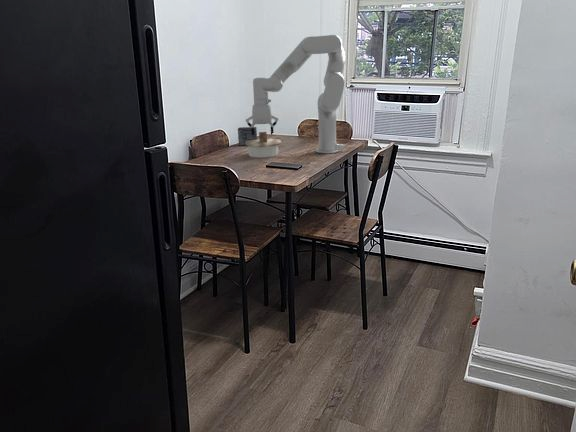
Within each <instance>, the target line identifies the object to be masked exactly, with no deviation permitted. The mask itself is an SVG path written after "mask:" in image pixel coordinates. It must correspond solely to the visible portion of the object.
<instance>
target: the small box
mask: <svg viewBox="0 0 576 432" xmlns="http://www.w3.org/2000/svg"><path fill="white" fill-rule="evenodd" d="M257 132H258V131H257V126H254V136H253V134H252V132H251V127H250V126H247V127H245V126H244V127H243V126H241V127H237V135H238V136H237V137H238V138H237V139H238V147H248V146H247V145H246V142H247V141H250V140H256V139H258V133H257Z"/></svg>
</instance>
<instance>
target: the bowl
mask: <svg viewBox="0 0 576 432" xmlns="http://www.w3.org/2000/svg"><path fill="white" fill-rule="evenodd" d="M247 147H248V148H247V151H248V157H250V158H256V159H257V158H258V159H259V158H260V159H265V158H273V157H277V156H278V155H279V145H276V146H269V147H251V146H247Z"/></svg>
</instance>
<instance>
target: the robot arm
mask: <svg viewBox="0 0 576 432" xmlns="http://www.w3.org/2000/svg"><path fill="white" fill-rule="evenodd" d="M320 54H321V55H322V54H327V55H328V62H327V66H326V71H325V75H324V77H323V84H324V87H325V88H324V91H323V92H322V93H321V94H320V95H319V96H318V98H317V113H318V119H317V120H318V147H317V148H316V149H315V152H316V153H317V154H318V153H319V154H335V153H339V152H340V149H341V148H342V149H345V148H346V145H345V143H343V144H342V143H338V142H337V109H339V107H340V104H341V100H342V96H343V93H344V88H345V81H346V80H345V78H344V76H343V72H344V68H345V62H346V54H345V50H344V47H343V41H342V39H341V37H340V36H339V35H337V34H328V35H318V36H307V37H305V38H303V39H302V40H301V41H300V42H299V43H298V44H297V46H296V47H295V48H294V49H293V50H292V51H291V53H290V54H289V55H288V56H287V57H286V58H285V59H284V61H283V62H282V63H281V64H280V65H279V66H278V67H277V69H276V70H275V71H274V72H273V73H272V74H271V75H270V76H269V77H267V78H266V77H255V78H253V80H252V86H253V90H252V91H253V104H252V106H251V107H252V110H251V112H252V113H251V116H249V117H247V118H246V119H245V122H246V124H247V125H248V127H251V132H252V134H253V136H254V127H255V125H270V135H271V136H272V135H273V134H274V127H275V126H276V125H277V124H278V121H279V118H278V117H276V116H274V115H273V114H272V109H271V104H269V103H271V102H272V99H269V92H270V93H278V92H280V91H282V89H283V87H284V83H285V82H286V81H287V80H288V79H289V78H290V77H291V76H292V75H293V74H294V73H297V72H298V71H299V70H301V69H302V67H303V66H304V64H305V63H307V61H308V60H309V59H310V58H311V57H312V55H320ZM250 120H252V124H251V122H250ZM272 120H274V122H273V123H272Z"/></svg>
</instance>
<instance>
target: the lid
mask: <svg viewBox="0 0 576 432" xmlns="http://www.w3.org/2000/svg"><path fill="white" fill-rule="evenodd" d="M267 135H268V133H267V131H259V132H258V138H257V139H256V140H250V141H247V142H246V145H247V146H246V147H248V146H251V147H269V146H276V145H278V146H279V145H281V144H282V141H281V140H280V139H276V138H275V139H274V138H268V136H267Z"/></svg>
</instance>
